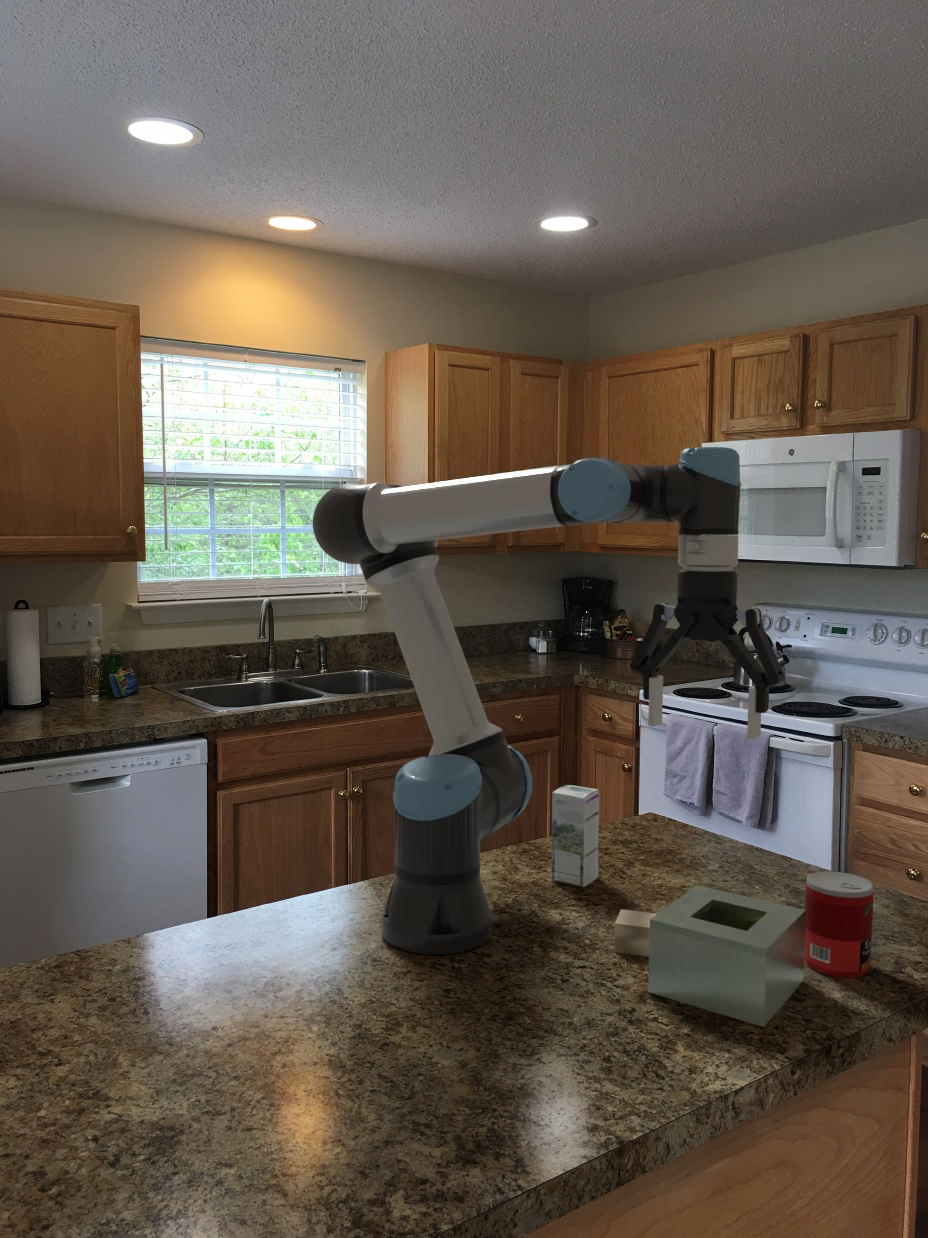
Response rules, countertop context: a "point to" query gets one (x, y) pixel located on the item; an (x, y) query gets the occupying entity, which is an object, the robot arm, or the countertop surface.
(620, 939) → the block
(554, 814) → the syrup box
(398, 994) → the countertop surface
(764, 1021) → the box
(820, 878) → the canned food
